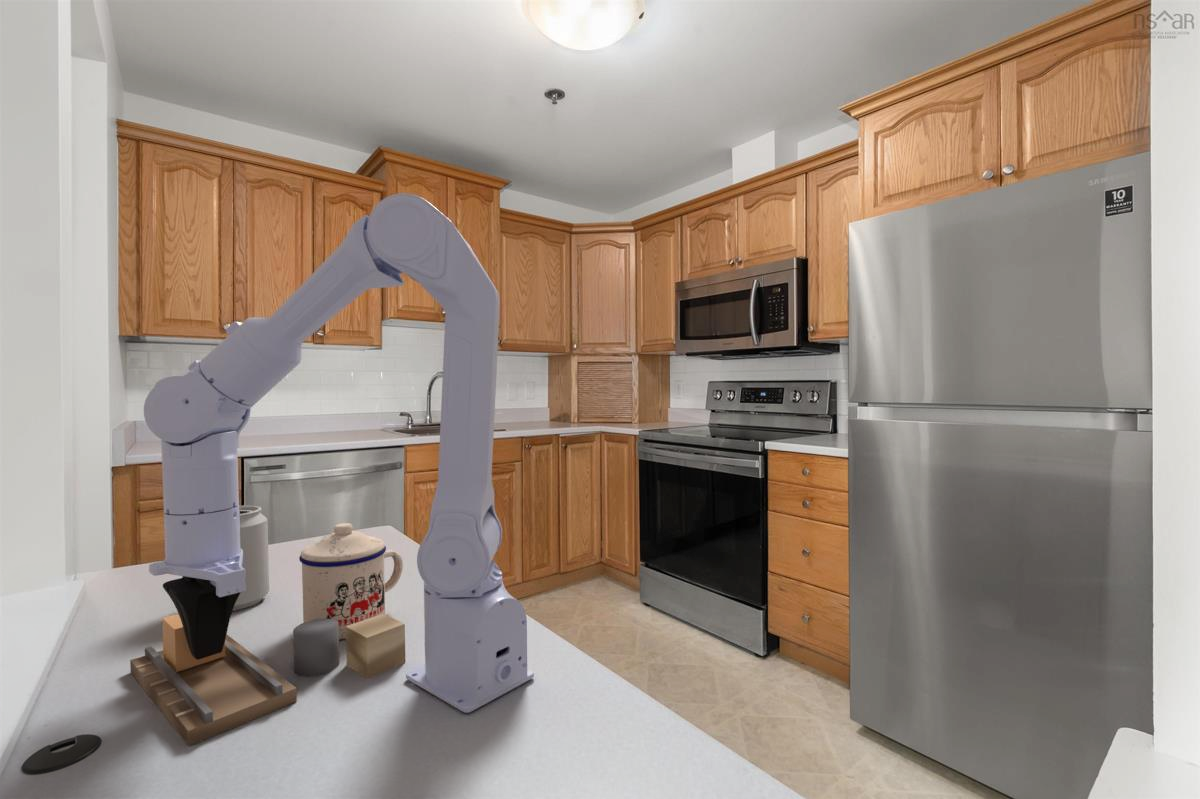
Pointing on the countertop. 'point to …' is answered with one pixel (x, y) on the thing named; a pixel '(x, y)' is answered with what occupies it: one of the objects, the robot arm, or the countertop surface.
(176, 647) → the slider
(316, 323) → the robot arm
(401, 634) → the oak block
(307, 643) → the charcoal cylinder
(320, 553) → the teacup with lid
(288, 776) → the countertop surface
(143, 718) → the countertop surface
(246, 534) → the can
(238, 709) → the board
